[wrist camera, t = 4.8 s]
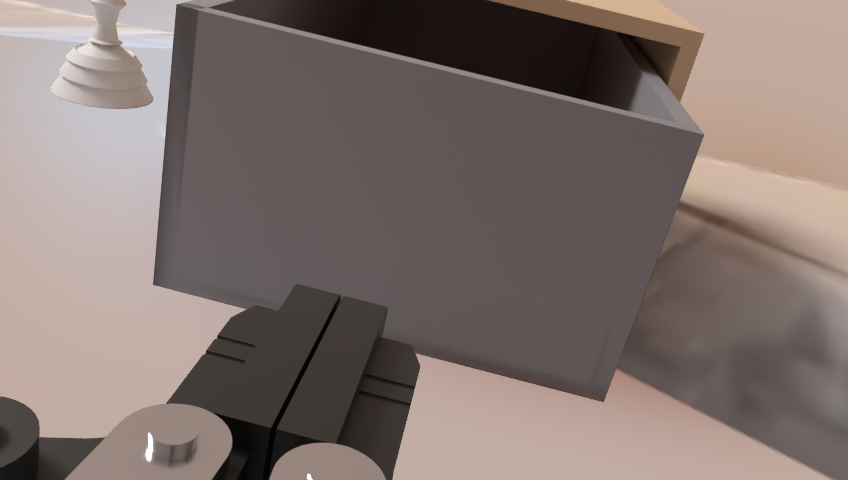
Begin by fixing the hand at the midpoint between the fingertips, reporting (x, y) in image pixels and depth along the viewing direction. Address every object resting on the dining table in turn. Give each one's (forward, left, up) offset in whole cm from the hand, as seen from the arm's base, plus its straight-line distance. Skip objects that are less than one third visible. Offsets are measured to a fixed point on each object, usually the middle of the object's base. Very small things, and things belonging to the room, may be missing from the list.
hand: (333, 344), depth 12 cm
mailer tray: (-4, -22, -6) cm, 23 cm away
